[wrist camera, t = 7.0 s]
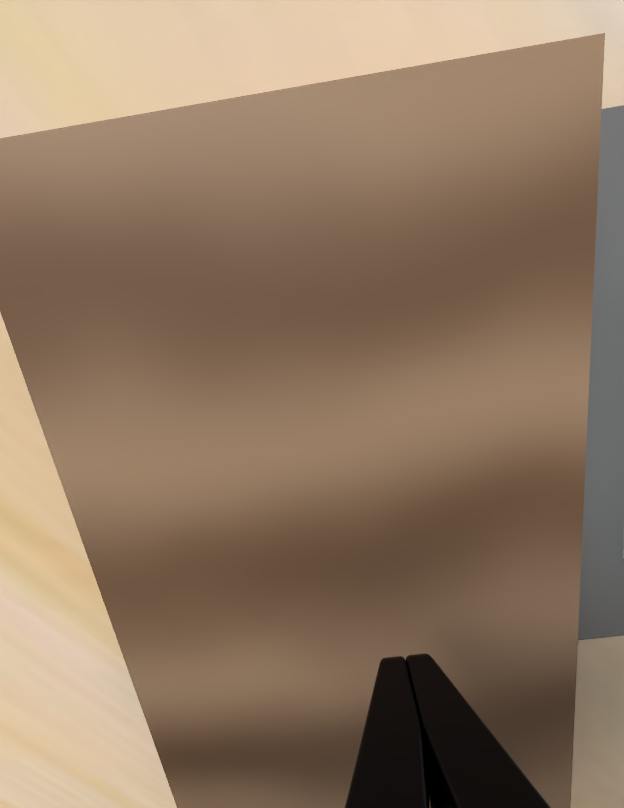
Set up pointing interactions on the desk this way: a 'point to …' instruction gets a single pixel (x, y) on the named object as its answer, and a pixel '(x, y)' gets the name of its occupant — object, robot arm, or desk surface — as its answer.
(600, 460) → the mat
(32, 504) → the desk surface
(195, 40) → the desk surface
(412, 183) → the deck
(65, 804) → the desk surface
